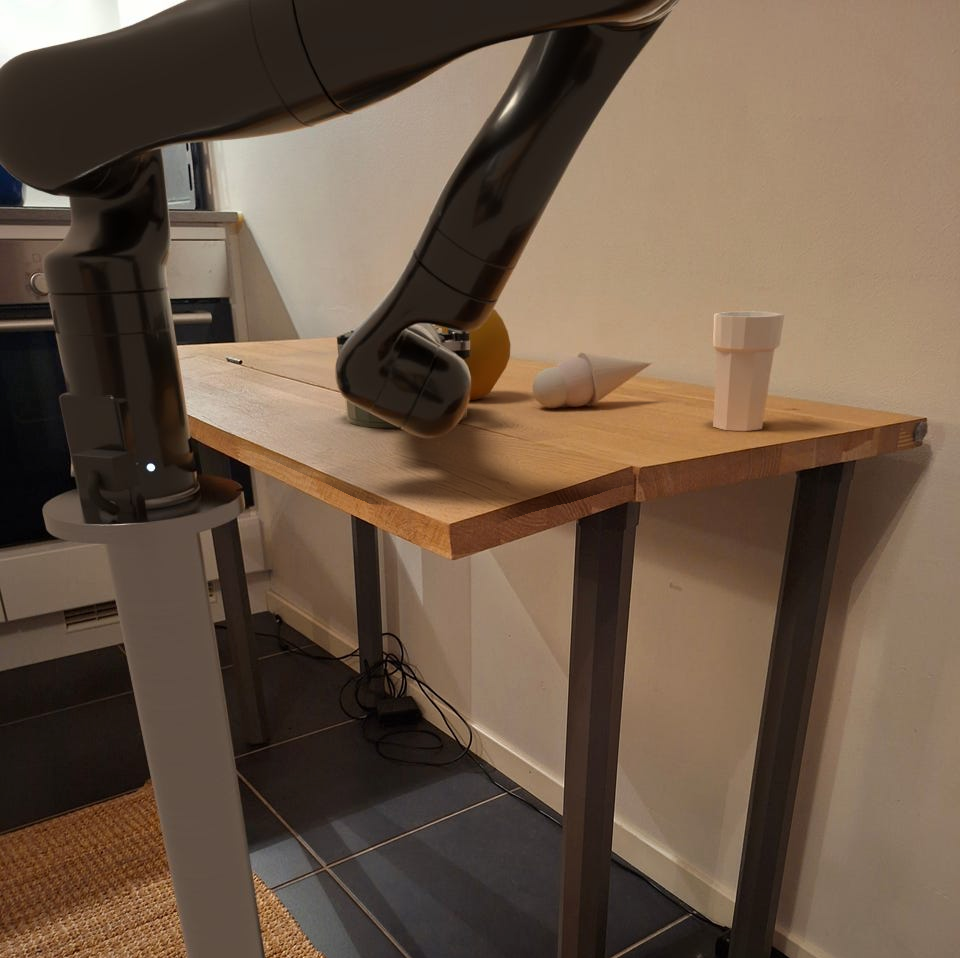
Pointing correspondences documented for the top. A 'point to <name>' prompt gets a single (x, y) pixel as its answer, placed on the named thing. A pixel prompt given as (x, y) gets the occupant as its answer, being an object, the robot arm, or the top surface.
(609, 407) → the top surface
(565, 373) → the ice cream cone
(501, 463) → the top surface
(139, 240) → the robot arm
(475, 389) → the apple
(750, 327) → the cup
